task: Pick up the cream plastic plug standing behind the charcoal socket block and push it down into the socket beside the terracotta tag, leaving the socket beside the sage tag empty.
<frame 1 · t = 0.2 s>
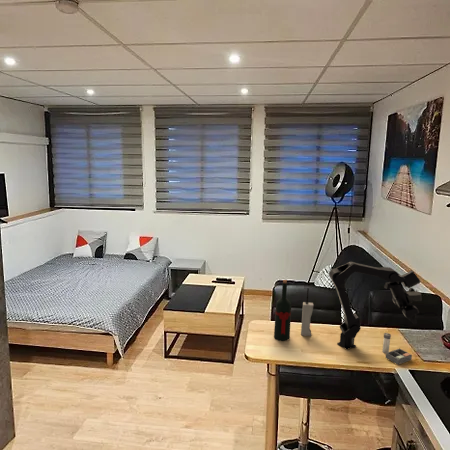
hand: (411, 319, 184), 14 cm above the table, tool tilted 30°, fingers open, 9 cm apart
vintage mobile phone: (306, 334, 198), on the table
wine bottle: (281, 338, 193), on the table
socket block: (398, 358, 176), on the table
plug: (385, 352, 182), on the table
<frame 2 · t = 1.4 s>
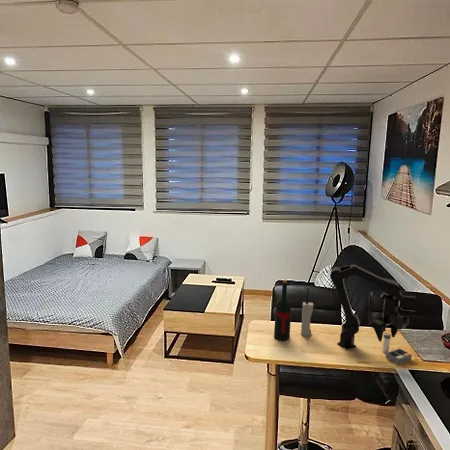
hand: (386, 339, 181), 7 cm above the table, tool pointing down, fingers open, 9 cm apart
nothing on the table moved.
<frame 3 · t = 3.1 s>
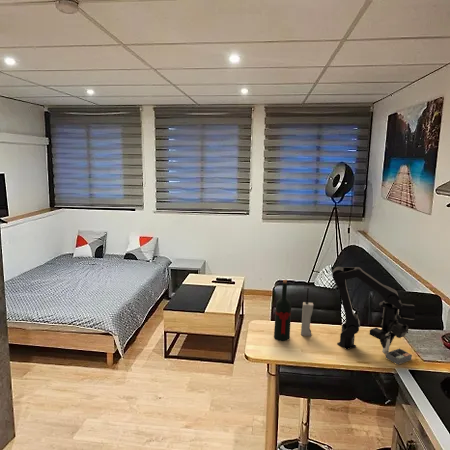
hand: (386, 347, 182), 3 cm above the table, tool pointing down, fingers closed on plug, 3 cm apart
plug: (385, 352, 182), on the table, touching gripper
everything else where it was.
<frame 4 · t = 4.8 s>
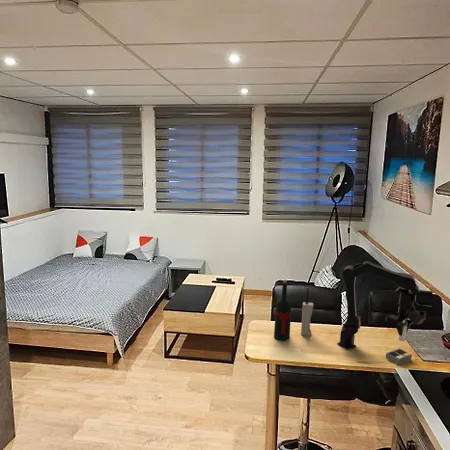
hand: (402, 334, 176), 11 cm above the table, tool pointing down, fingers closed on plug, 3 cm apart
plug: (402, 339, 176), point 8 cm above the table, touching gripper
everything else where it was.
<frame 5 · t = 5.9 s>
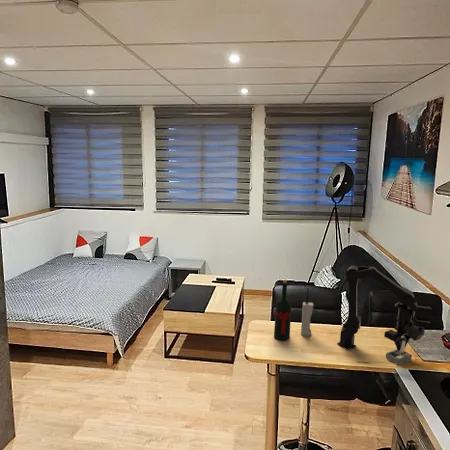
hand: (400, 349, 177), 4 cm above the table, tool pointing down, fingers closed on plug, 3 cm apart
plug: (400, 354, 178), point 1 cm above the table, touching gripper
everything else where it was.
when the fingers open (3 cm above the table, at t = 6.5 s): plug stays where it is, resting on socket block.
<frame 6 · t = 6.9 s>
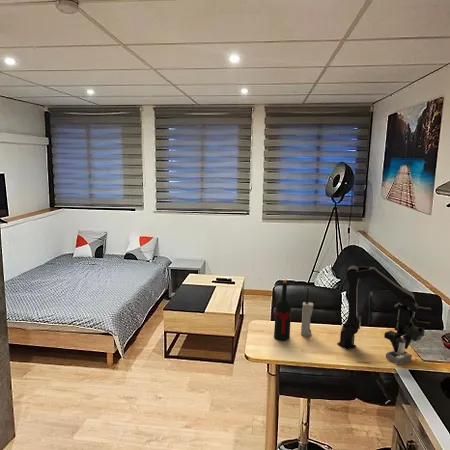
hand: (400, 350, 177), 3 cm above the table, tool pointing down, fingers open, 7 cm apart
plug: (400, 356, 178), resting on socket block
everything else where it was.
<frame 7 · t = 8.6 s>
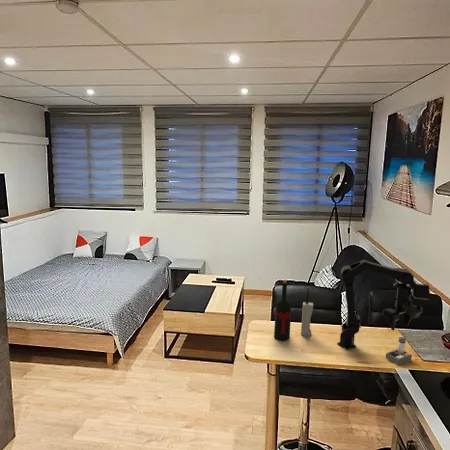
hand: (399, 328, 180), 12 cm above the table, tool pointing down, fingers open, 9 cm apart
nothing on the table moved.
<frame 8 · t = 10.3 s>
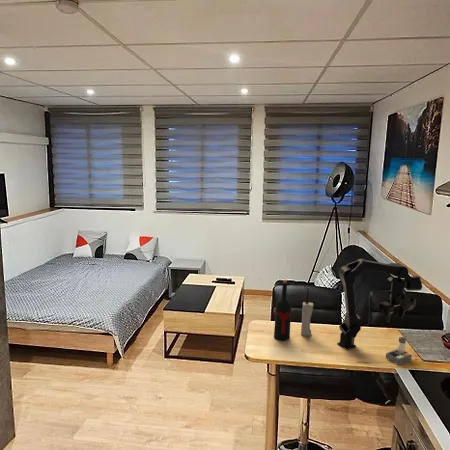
hand: (394, 320, 186), 13 cm above the table, tool pointing down, fingers open, 9 cm apart
nothing on the table moved.
at the end: plug 0.1 cm from the target spot on the socket block, point 0.2 cm above the socket block's base; plug tilted 0°; the gripper is holding nothing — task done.
